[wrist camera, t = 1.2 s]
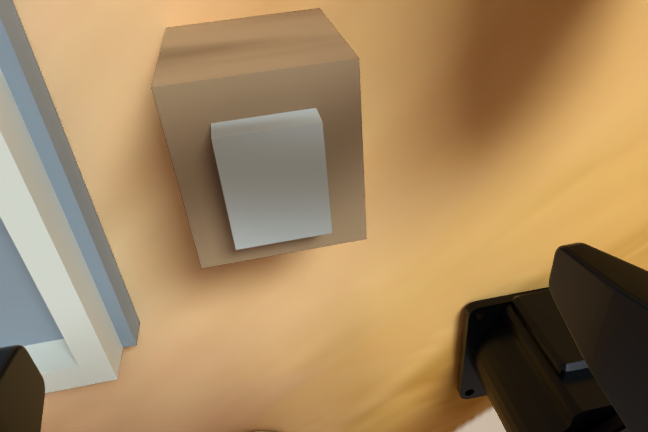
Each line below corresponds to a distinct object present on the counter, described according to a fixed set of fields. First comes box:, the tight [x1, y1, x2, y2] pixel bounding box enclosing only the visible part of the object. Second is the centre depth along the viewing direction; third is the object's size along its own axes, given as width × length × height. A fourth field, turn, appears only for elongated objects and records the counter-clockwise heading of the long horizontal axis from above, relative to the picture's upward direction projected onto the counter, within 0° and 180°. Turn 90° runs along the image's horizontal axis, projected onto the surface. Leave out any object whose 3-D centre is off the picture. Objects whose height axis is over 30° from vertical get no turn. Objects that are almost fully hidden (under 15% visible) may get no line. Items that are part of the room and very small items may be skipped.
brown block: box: [151, 8, 367, 268], centre depth 14 cm, size 5×4×6 cm
